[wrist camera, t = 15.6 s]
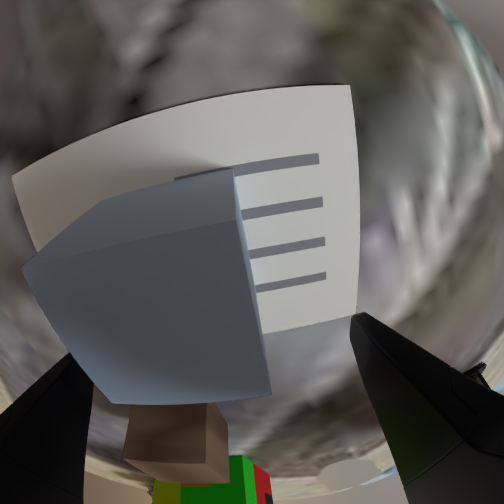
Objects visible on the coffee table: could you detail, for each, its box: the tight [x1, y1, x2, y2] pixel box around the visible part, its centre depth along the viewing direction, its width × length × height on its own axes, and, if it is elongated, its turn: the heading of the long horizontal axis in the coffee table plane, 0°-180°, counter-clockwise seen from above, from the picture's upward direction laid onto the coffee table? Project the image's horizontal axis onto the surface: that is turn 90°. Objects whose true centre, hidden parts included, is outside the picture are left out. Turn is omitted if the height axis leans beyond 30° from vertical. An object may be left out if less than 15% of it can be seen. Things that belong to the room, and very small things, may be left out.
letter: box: [11, 85, 360, 334], centre depth 10 cm, size 14×10×1 cm
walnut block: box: [122, 402, 230, 483], centre depth 13 cm, size 5×5×5 cm
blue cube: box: [21, 168, 272, 405], centre depth 8 cm, size 5×5×5 cm
